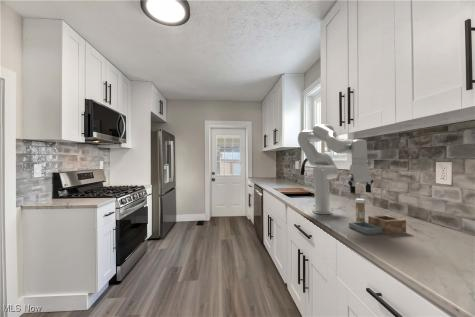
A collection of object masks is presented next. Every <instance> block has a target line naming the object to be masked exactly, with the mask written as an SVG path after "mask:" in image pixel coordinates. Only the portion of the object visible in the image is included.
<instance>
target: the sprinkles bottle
mask: <svg viewBox="0 0 475 317" xmlns="http://www.w3.org/2000/svg"><path fill="white" fill-rule="evenodd" d="M354 202H355V222H366V210H365V208H366V207H365V203H366V200H365V199H364V198H355V200H354Z"/></svg>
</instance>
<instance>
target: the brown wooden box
mask: <svg viewBox="0 0 475 317" xmlns="http://www.w3.org/2000/svg"><path fill="white" fill-rule="evenodd" d="M367 223H370V224H372V225H375V226H378V227H381V228H383V234H385V235H395V234H396V235H397V234H405V233H407V221H406V219H403V218H399V217H397V216H392V215H389V214H378V215H368V220H367Z"/></svg>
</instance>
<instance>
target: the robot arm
mask: <svg viewBox="0 0 475 317" xmlns="http://www.w3.org/2000/svg"><path fill="white" fill-rule="evenodd" d="M337 134H338V133H337V132H336V131H335V128H334V127H333V126H332V125H330V124H323V123H322V124H321V123H319V124H316V125H314V126H313V127H312V129H311V130H309V129H304V130H300V132H299V133H298V136H297V143H298V145H299V147H300V149H301V150H302V152H303V153H304V156H305V157H306V160H307V162H308V163H309V165H310V166H312V167H314V168H313V169H312V177H313V182H314V183H313V184H314V205H313V207H314V208H313V209H312V213H315V214H318V215H331V214H333V213H334V212H333V210H331V194H330V192H331V191H330V189H331V188H330V183H329V181H328V180H333V179H336V178H337V177H338V176H339V169H338V167H337V165H336V163H335V162H334V160H333V159H332V157H331V155H329V154H328V153H326V152H319V151H318V150H317V149H316V147H315V145H314V144H312V143H319V142H321V141H323V142H325V145H326V148H328V149H329V150H330V151H333V152H334V153H336V154H340V155H341V154H342V155H344V154H345V155H346V154H347V155H348V154H350V155H351V164H350V166H349V174H348V176H347V177H345V181H346V183H347V185H348V186H349V192H350V194H356V186H355V185H356V183H358V184H359V183H365V192H366V193H372V185H373V183H374V180H375V177H374V176H373V175H371V170H370V166H369V164H368V163H369V159H368V147H367V146H368V142H367V140H366V139H361V138H360V139H353V140H340V139H337V137H338V136H337Z"/></svg>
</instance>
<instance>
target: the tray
mask: <svg viewBox="0 0 475 317" xmlns="http://www.w3.org/2000/svg"><path fill="white" fill-rule="evenodd" d="M348 228H349V229H352V230H354V231H357V232H359V233H361V234H364V235H365V236H370V235H382V234H384V233H383V228H381V227H378V226H375V225H372V224H370V223H368V221H367V222H366V221H365V222H356V221H353V222H348Z"/></svg>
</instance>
